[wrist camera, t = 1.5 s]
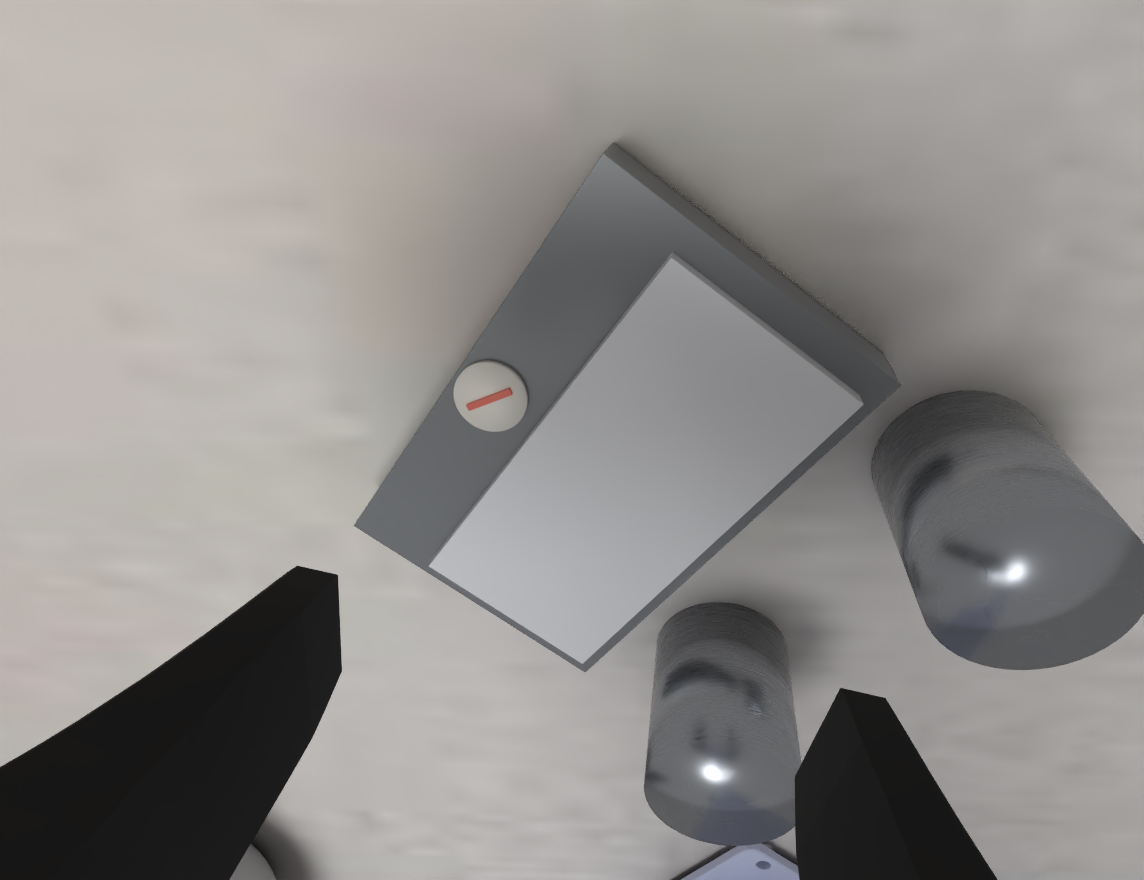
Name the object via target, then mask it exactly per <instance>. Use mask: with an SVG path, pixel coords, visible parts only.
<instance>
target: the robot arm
mask: <svg viewBox="0 0 1144 880" xmlns="http://www.w3.org/2000/svg"><path fill="white" fill-rule="evenodd" d="M341 672H342V664H341V640H340V616H339V592H338V575H336V574H332V573H327V572H323V571H318V570H314V569H309V568H305V567H300V566H296V567H295V568H293V569H291V570H290V571H289V572H287V573H286V574H285V575H283V576H282V577H280V578H279V579H278V580H276V581H275V582H274V583H272V584H271V585H270V586H269V587H267V588H266V589H265V590H263V591H262V592H261V593H259V594H258V595H257V596H255V597H254V598H253V599H251V600H250V601H249V602H247V603H246V604H245V605H243V606H242V607H241V608H239V609H238V610H237V611H235V612H234V613H233V614H231V615H230V616H229V617H227V618H226V619H225V620H223V621H222V622H221V623H219V624H218V625H217V626H215V627H214V628H212V629H211V630H210V631H208V632H207V633H206V634H204V635H203V636H201V637H200V638H199V639H197V640H196V641H194V642H193V643H192V644H190V645H189V646H187V647H186V648H185V649H183V650H182V651H180V652H179V653H178V654H176V655H175V656H173V657H172V658H171V659H169V660H168V661H166V662H165V663H164V664H162V665H161V666H159V667H158V668H157V669H155V670H154V671H152V672H151V673H149V674H148V675H146V676H145V677H143V678H142V679H141V680H139V681H138V682H136V683H134V684H133V685H131V686H130V687H128V688H127V689H125V690H124V691H122V692H121V693H119V694H118V695H116V696H115V697H113V698H112V699H110V700H109V701H107V702H106V703H104V704H102V705H101V706H99V707H98V708H96V709H95V710H93V711H92V712H90V713H89V714H87V715H86V716H84V717H83V718H81V719H80V720H78V721H76V722H75V723H73V724H72V725H70V726H68V727H67V728H65V729H64V730H62V731H60V732H59V733H57V734H55V735H54V736H52V737H51V738H49V739H47V740H46V741H44V742H42V743H41V744H39V745H37V746H36V747H34V748H32V749H31V750H29V751H27V752H26V753H24V754H22V755H20V756H19V757H17V758H15V759H13V760H12V761H10V762H8V763H7V764H5V765H3V766H1V767H0V880H230V878H231V876H232V875H233V873H234V871H235V870H236V868H237V866H238V864H239V863H240V861H241V859H242V858H243V856H244V854H245V853H246V851H247V849H248V847H249V846H250V844H251V842H252V841H253V839H254V837H255V835H256V834H257V832H258V830H259V829H260V827H261V825H262V824H263V822H264V820H265V818H266V817H267V815H268V813H269V812H270V810H271V808H272V807H273V805H274V803H275V801H276V800H277V798H278V796H279V795H280V793H281V791H282V789H283V788H284V786H285V784H286V783H287V781H288V779H289V777H290V776H291V774H292V772H293V770H294V769H295V767H296V765H297V764H298V762H299V760H300V758H301V757H302V755H303V753H304V751H305V750H306V748H307V746H308V744H309V743H310V741H311V739H312V737H313V735H314V733H315V731H316V728H317V726H318V724H319V722H320V720H321V717H322V715H323V713H324V711H325V709H326V706H327V704H328V702H329V699H330V697H331V695H332V693H333V690H334V688H335V686H336V683H337V681H338V679H339V676H340V674H341ZM795 830H796V856H797V864H798V866H797V865H795V864H794V863H792V862H790V861H789V860H787V859H785V858H784V857H782V856H781V855H779V854H777V853H776V852H774V851H772V850H771V849H769V848H768V847H766V846H764V845H763V844H761V843H759V844H753V845H744V846H736V847H735V848H733V849H731V850H729V851H728V852H726V853H724V854H723V855H721V856H719V857H718V858H716V859H714V860H713V861H711V862H709V863H708V864H706V865H704V866H703V867H701V868H699V869H698V870H696V871H694V872H693V873H691V874H689V875H688V876H686V877H684V878H683V879H681V880H997V878H996V877H995V875H994V873H993V872H992V870H991V869H990V867H989V866H988V864H987V863H986V861H985V859H984V858H983V856H982V855H981V853H980V852H979V850H978V849H977V847H976V845H975V844H974V842H973V841H972V839H971V838H970V836H969V835H968V833H967V831H966V830H965V828H964V827H963V825H962V823H961V822H960V820H959V819H958V817H957V815H956V814H955V812H954V811H953V809H952V807H951V806H950V804H949V803H948V801H947V799H946V798H945V796H944V794H943V793H942V791H941V789H940V788H939V786H938V784H937V783H936V781H935V780H934V778H933V776H932V775H931V773H930V771H929V770H928V768H927V766H926V765H925V763H924V761H923V760H922V758H921V756H920V755H919V753H918V751H917V750H916V748H915V746H914V745H913V743H912V741H911V740H910V738H909V736H908V735H907V733H906V731H905V730H904V728H903V726H902V725H901V723H900V721H899V720H898V718H897V716H896V715H895V713H894V711H893V710H892V708H891V707H890V705H889V703H888V702H887V700H886V698H883V697H878V696H874V695H869V694H865V693H861V692H856V691H852V690H847V689H843V688H840V690H839V692H838V694H837V696H836V698H835V700H834V702H833V703H832V705H831V707H830V709H829V711H828V713H827V715H826V717H825V719H824V721H823V723H822V725H821V727H820V729H819V731H818V733H817V734H816V736H815V738H814V740H813V742H812V744H811V746H810V748H809V750H808V752H807V754H806V756H805V758H804V760H803V762H802V763H801V765H800V767H799V769H798V771H797V773H796V775H795Z"/></svg>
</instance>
